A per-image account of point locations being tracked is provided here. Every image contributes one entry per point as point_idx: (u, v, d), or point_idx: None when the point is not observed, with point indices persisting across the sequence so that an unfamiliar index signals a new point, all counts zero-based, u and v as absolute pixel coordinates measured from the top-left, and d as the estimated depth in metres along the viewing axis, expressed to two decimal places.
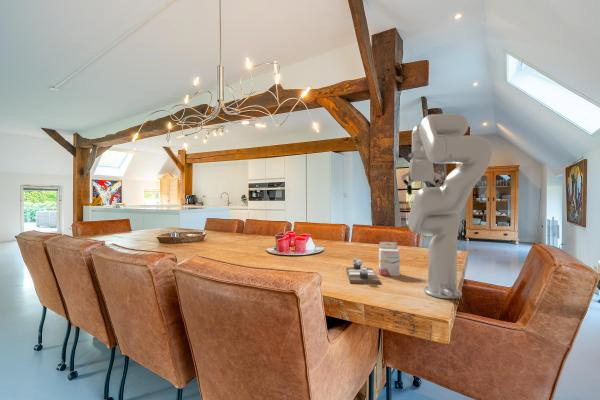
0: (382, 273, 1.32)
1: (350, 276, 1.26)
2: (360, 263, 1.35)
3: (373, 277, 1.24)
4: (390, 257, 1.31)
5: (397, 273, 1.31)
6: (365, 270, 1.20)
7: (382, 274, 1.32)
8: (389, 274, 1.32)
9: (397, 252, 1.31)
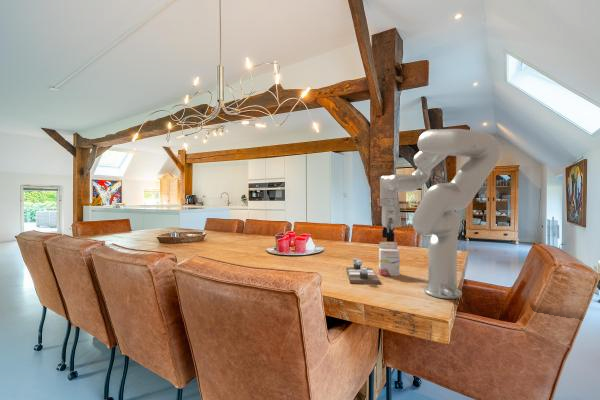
0: (382, 273, 1.32)
1: (350, 276, 1.26)
2: (360, 263, 1.35)
3: (373, 277, 1.24)
4: (390, 257, 1.31)
5: (397, 273, 1.31)
6: (365, 270, 1.20)
7: (382, 274, 1.32)
8: (389, 274, 1.32)
9: (397, 252, 1.31)
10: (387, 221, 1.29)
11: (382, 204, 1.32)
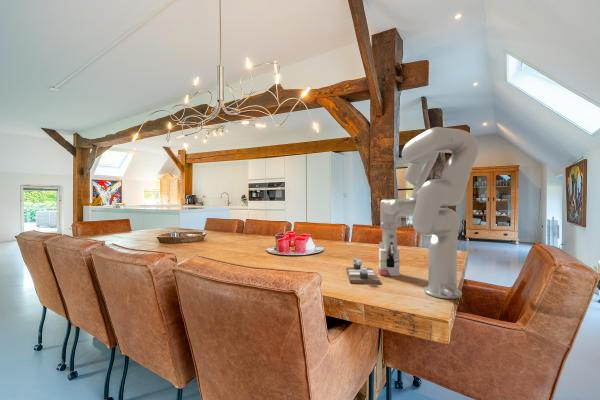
0: (382, 273, 1.32)
1: (350, 276, 1.26)
2: (360, 263, 1.35)
3: (373, 277, 1.24)
4: None
5: (397, 273, 1.31)
6: (365, 270, 1.20)
7: (382, 274, 1.32)
8: (389, 274, 1.32)
9: (397, 252, 1.31)
10: (388, 245, 1.29)
11: (382, 228, 1.32)
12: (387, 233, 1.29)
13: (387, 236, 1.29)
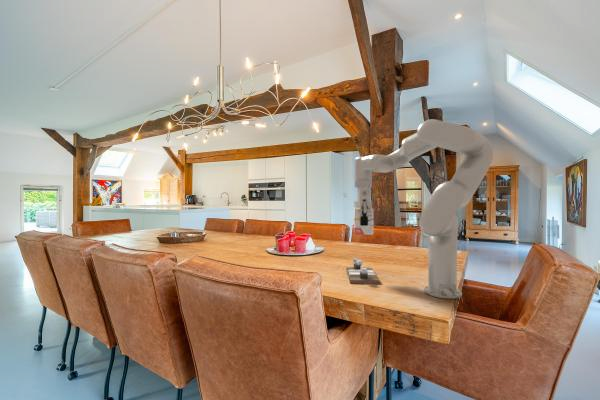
0: (356, 232, 1.29)
1: (350, 276, 1.26)
2: (360, 263, 1.35)
3: (373, 277, 1.24)
4: None
5: (371, 231, 1.28)
6: (365, 270, 1.20)
7: (356, 233, 1.29)
8: (363, 233, 1.29)
9: (371, 210, 1.28)
10: (361, 203, 1.26)
11: (356, 186, 1.29)
12: (360, 190, 1.27)
13: (360, 193, 1.26)
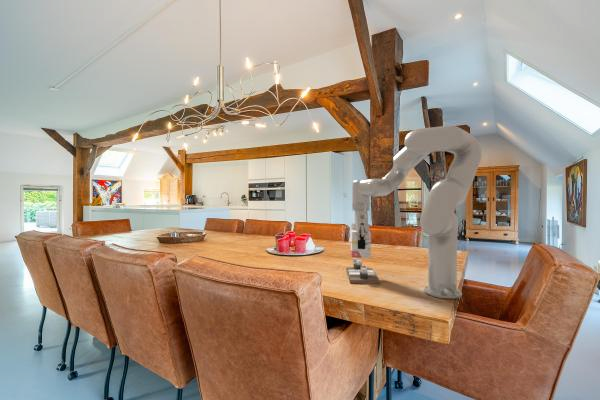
0: (353, 255, 1.29)
1: (350, 276, 1.26)
2: (360, 263, 1.35)
3: (373, 277, 1.24)
4: None
5: (368, 255, 1.29)
6: (365, 270, 1.20)
7: (353, 256, 1.29)
8: (360, 256, 1.29)
9: (368, 233, 1.28)
10: (359, 226, 1.26)
11: (354, 209, 1.29)
12: (358, 214, 1.26)
13: (358, 217, 1.26)
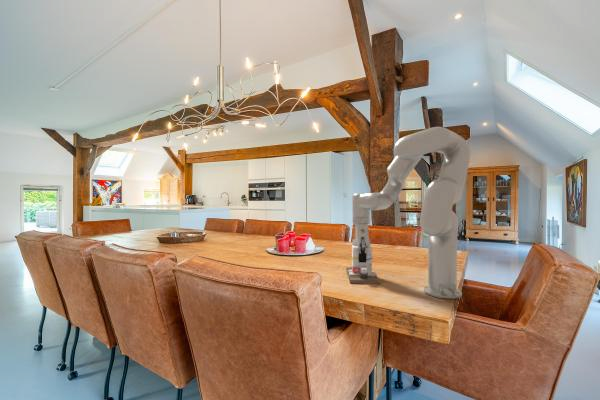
0: (354, 271, 1.29)
1: (350, 276, 1.26)
2: None
3: (373, 277, 1.24)
4: None
5: (370, 271, 1.28)
6: (365, 270, 1.20)
7: (354, 272, 1.29)
8: None
9: (369, 249, 1.28)
10: (359, 240, 1.26)
11: (354, 223, 1.29)
12: (358, 228, 1.26)
13: (358, 231, 1.26)
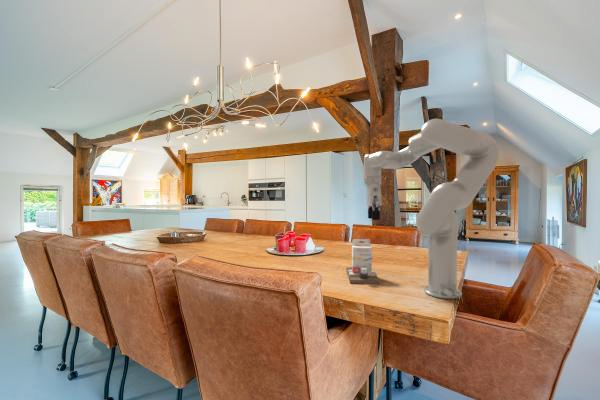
0: (354, 271, 1.29)
1: (350, 276, 1.26)
2: None
3: (373, 277, 1.24)
4: (363, 254, 1.28)
5: (370, 271, 1.28)
6: (365, 270, 1.20)
7: (354, 272, 1.29)
8: None
9: (369, 249, 1.28)
10: (372, 199, 1.27)
11: (366, 183, 1.30)
12: (371, 187, 1.28)
13: (371, 190, 1.27)
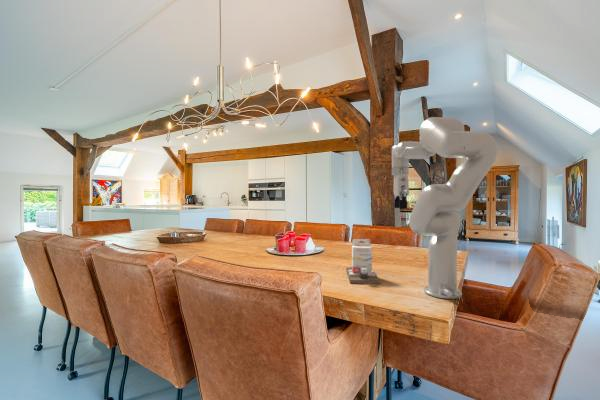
0: (354, 271, 1.29)
1: (350, 276, 1.26)
2: None
3: (373, 277, 1.24)
4: (363, 254, 1.28)
5: (370, 271, 1.28)
6: (365, 270, 1.20)
7: (354, 272, 1.29)
8: None
9: (369, 249, 1.28)
10: (400, 189, 1.31)
11: (394, 173, 1.34)
12: (399, 177, 1.31)
13: (399, 180, 1.31)
